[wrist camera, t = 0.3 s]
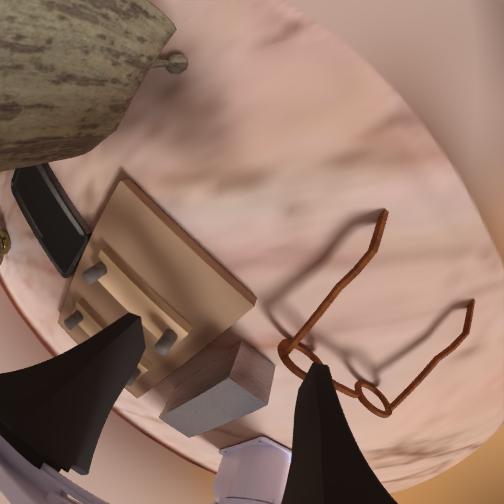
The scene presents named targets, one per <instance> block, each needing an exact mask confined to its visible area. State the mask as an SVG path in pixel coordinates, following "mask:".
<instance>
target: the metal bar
mask: <svg viewBox="0 0 504 504" xmlns="http://www.w3.org/2000/svg"><path fill="white" fill-rule="evenodd" d="M274 371H275V364H273V363H272V362H271V361H270V360H268V359H267V358H266V357H264V356H263V355H262V354H261V353H259V352H258V351H257V350H256V349H254V348H253V347H252V346H251V345H249V344H248V343H247V342H246V341H244V340H241V341H240V342H239V343H237V344H236V345H235V346H233V347H232V348H231V349H229V350H228V351H227V352H225V353H224V354H223V355H221V356H220V357H218V358H217V359H216V360H214V361H213V362H212V363H210V364H209V365H207V366H206V367H205V368H203V369H202V370H200V371H199V372H198V373H196V374H195V375H193V376H192V377H190V378H189V379H187V380H186V381H185V382H183V383H182V384H180V385H179V386H177V387H176V388H175V390H174V391H173V393H172V395H171V397H170V398H169V400H168V402H167V404H166V405H165V407H164V409H163V411H162V413H161V414H160V416H159V418H160V419H161V420H163V421H164V422H166V423H167V424H169V425H170V426H172V427H173V428H175V429H176V430H178V431H179V432H181V433H182V434H184V435H185V436H187V437H189V438H190V437H193V436H196V435H198V434H201V433H204V432H206V431H209V430H212V429H214V428H217V427H219V426H222V425H224V424H227V423H229V422H231V421H234V420H236V419H238V418H240V417H243V416H245V415H247V414H249V413H252V412H254V411H256V410H258V409H260V408H262V407H264V406H266V405H268V400H269V395H270V391H271V386H272V381H273V376H274Z"/></svg>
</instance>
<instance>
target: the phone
mask: <svg viewBox="0 0 504 504" xmlns="http://www.w3.org/2000/svg"><path fill="white" fill-rule="evenodd" d="M11 190H12V193H13V195H14V197H15V199H16V201H17V203H18V205H19V207H20V209H21V211H22V213H23V215H24V217H25V218H26V220H27V222H28V224H29V226H30V227H31V229H32V231H33V233H34V234H35V236H36V238H37V239H38V241H39V243H40V244H41V246H42V248H43V249H44V251H45V252H46V254H47V255H48V257H49V259H50V260H51V262H52V263H53V265H54V266H55V268H56V269H57V270H58V272H59V273H60V275H61V276H62V277H64V278H68V277H69V276H71V275H72V274H73V273H74V271H75V270H76V268H77V266H78V265H79V262H80V260H81V258H82V255H83V253H84V251H85V248H86V246H87V244H88V242H89V240H90V238H91V235H92V231H91V230H90V228H89V227H88V225H87V224H86V222H85V221H84V219H83V218H82V217H81V215H80V214H79V212H78V211H77V209H76V208H75V206H74V205H73V203H72V202H71V200H70V199H69V197H68V196H67V194H66V192H65V191H64V189H63V188H62V186H61V184H60V183H59V181H58V180H57V178H56V176H55V175H54V173H53V171H52V169H51V168H50V166H49V164H48V163H43V164H38V165H34V166H29V167H23V168H17V169H15V172H14V175H13V178H12V181H11Z"/></svg>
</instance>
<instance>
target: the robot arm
mask: <svg viewBox="0 0 504 504" xmlns="http://www.w3.org/2000/svg"><path fill="white" fill-rule="evenodd" d="M145 349H146V345H145V339H144V333H143V326H142V320H141V316H138V315H136V314H133V313H130V312H128V313H127V314H125V315H124V316H122V317H121V318H119V319H118V320H116V321H115V322H113V323H112V324H110V325H109V326H107V327H106V328H104V329H103V330H101V331H100V332H98V333H97V334H95V335H93V336H92V337H90V338H89V339H87V340H86V341H84V342H82V343H80V344H79V345H77V346H75V347H74V348H72V349H70V350H68V351H66V352H64V353H62V354H60V355H58V356H56V357H54V358H52V359H50V360H47V361H44V362H42V363H39V364H36V365H34V366H31V367H28V368H24V369H21V370H17V371H13V372H7V373H1V374H0V491H1V492H2V493H3V495H4V496H5V497H6V498H7V499H8V501H9V502H10V503H11V504H81V503H83V504H109V503H107V502H106V501H104V500H102V499H100V498H98V497H96V496H94V495H93V494H91V493H89V492H88V491H86V490H84V489H83V488H81V487H80V486H78V485H76V484H75V483H73V482H72V481H70V480H69V479H67V478H66V477H64V476H63V475H62V474H60V473H59V471H60V470H61V469H63V470H64V471H66V472H69V470H70V468H71V469H73V470H74V471H76V472H77V473H79V474H80V475H87V474H88V473H89V469H90V465H91V461H92V458H93V454H94V451H95V448H96V445H97V442H98V439H99V437H100V434H101V431H102V429H103V426H104V424H105V422H106V419H107V417H108V415H109V413H110V411H111V409H112V407H113V405H114V403H115V401H116V400H117V398H118V397H119V395H120V393H121V392H122V390H123V389H124V387H125V385H126V384H127V382H128V381H129V379H130V377H131V376H132V374H133V373H134V371H135V369H136V368H137V366H138V364H139V362H140V360H141V358H142V355H143V353H144V351H145ZM219 453H220V454H221V455H223V457H222V460H221V463H220V466H219V469H218V472H217V475H216V478H215V481H214V484H213V494H214V497H215V499H216V500H217V501H218V502H213V503H211V504H398V503H397V502H396V501H395V500H394V499H393V498H392V497H391V495H390V494H389V493H388V492H387V490H386V489H385V488H384V487H383V485H382V484H381V483H380V481H379V480H378V478H377V477H376V475H375V474H374V472H373V471H372V469H371V468H370V466H369V465H368V463H367V461H366V460H365V458H364V456H363V454H362V453H361V451H360V449H359V447H358V445H357V443H356V441H355V439H354V437H353V434H352V432H351V430H350V428H349V425H348V423H347V420H346V418H345V415H344V413H343V410H342V407H341V404H340V402H339V399H338V396H337V393H336V390H335V386H334V383H333V380H332V376H331V373H330V369H329V367H328V365H324V364H318V363H312V365H311V367H310V369H309V371H308V373H307V375H306V377H305V379H304V380H303V382H302V384H301V386H300V388H299V389H298V395H297V400H296V406H295V414H294V428H293V443H292V451H291V450H289V449H287V448H285V447H283V446H281V445H279V444H277V443H275V442H274V441H272V440H270V439H268V438H266V437H263V436H261V437H258V438H255V439H253V440H250V441H247V442H244V443H241V444H238V445H235V446H231V447H228V448H225V449H221V450H219ZM289 464H290V469H289V473H288V467H289ZM287 473H288V478H287ZM286 479H287V482H286ZM67 494H69V495H71V496H72V497H73V498H75V499H76V500H78V501H80V502H81V503H79V502H77V501H75V500H73V499H71V498H69V497H68V496H67Z"/></svg>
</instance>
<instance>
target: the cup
mask: <svg viewBox="0 0 504 504" xmlns="http://www.w3.org/2000/svg"><path fill="white" fill-rule="evenodd" d="M9 250H10V240H9V236H8V234H7V232H6V231H5V230H3V229H0V265H1V263H2V261H3V256H4V254H7V253H8V252H9Z"/></svg>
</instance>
